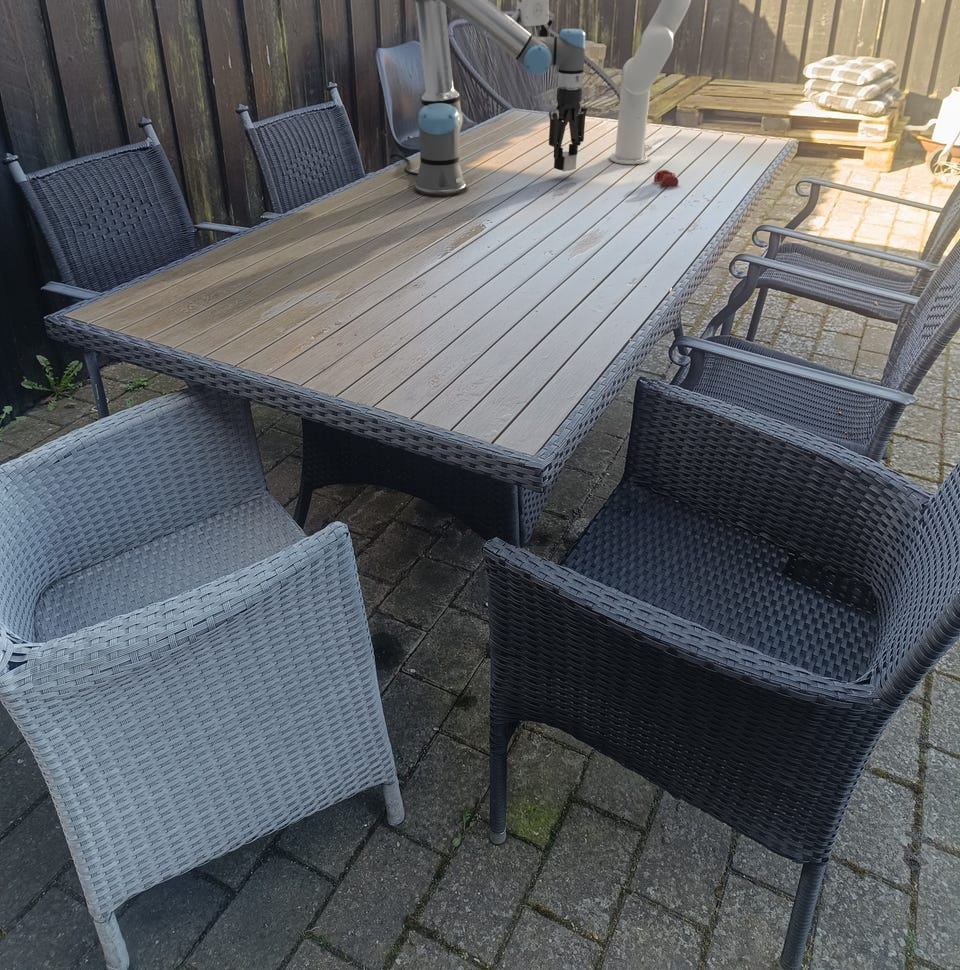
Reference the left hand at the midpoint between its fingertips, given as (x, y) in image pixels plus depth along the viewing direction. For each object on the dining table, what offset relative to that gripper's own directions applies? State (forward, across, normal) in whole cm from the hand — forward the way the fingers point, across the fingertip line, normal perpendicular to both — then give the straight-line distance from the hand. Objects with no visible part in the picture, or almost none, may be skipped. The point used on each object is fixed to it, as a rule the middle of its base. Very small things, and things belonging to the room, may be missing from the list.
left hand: (564, 167), depth 266 cm
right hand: (-31, +6, +28) cm, 42 cm away
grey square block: (0, 0, 0) cm, 0 cm away
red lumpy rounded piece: (+3, +22, -23) cm, 32 cm away
